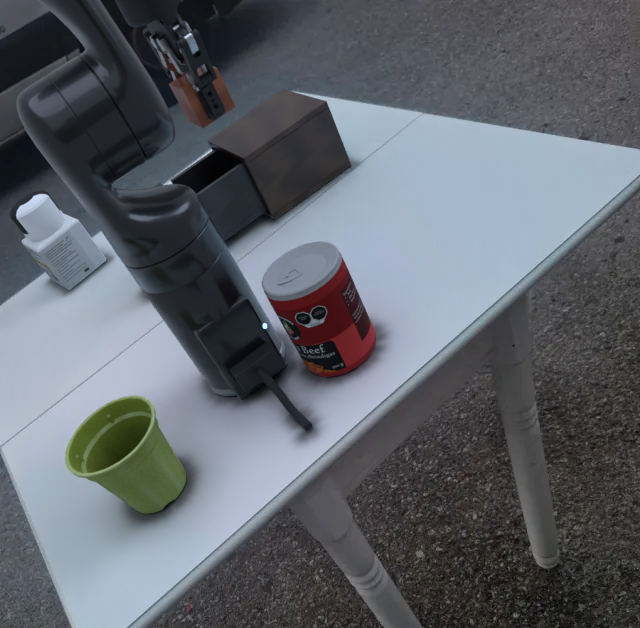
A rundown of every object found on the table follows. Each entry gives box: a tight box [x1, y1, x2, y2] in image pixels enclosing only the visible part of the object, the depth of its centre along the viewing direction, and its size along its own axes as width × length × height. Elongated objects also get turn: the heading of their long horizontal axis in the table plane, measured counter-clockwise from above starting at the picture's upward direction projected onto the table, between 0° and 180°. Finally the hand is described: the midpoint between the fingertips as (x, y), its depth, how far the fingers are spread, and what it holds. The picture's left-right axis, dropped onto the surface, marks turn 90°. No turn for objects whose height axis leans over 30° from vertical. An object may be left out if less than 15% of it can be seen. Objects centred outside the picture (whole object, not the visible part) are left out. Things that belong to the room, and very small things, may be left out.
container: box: [9, 189, 107, 291], centre depth 107 cm, size 8×8×13 cm
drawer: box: [154, 149, 268, 242], centre depth 98 cm, size 17×11×8 cm
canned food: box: [261, 240, 376, 378], centre depth 69 cm, size 8×8×11 cm
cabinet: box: [207, 88, 353, 221], centre depth 100 cm, size 14×13×10 cm
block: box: [168, 65, 236, 129], centre depth 88 cm, size 5×5×5 cm
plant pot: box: [64, 394, 187, 515], centre depth 67 cm, size 9×9×9 cm
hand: (209, 111), depth 89 cm, fingers closed on block, 5 cm apart
